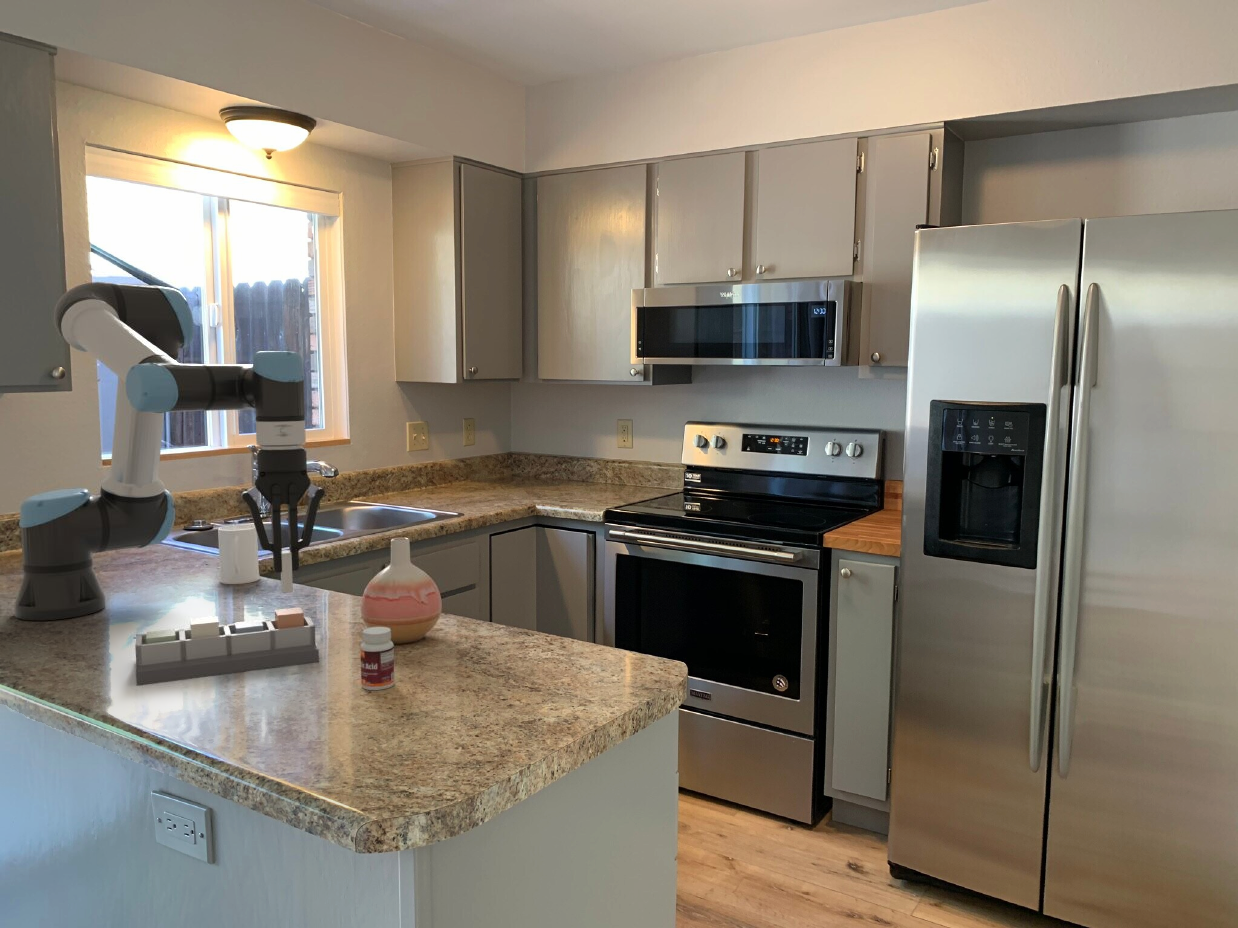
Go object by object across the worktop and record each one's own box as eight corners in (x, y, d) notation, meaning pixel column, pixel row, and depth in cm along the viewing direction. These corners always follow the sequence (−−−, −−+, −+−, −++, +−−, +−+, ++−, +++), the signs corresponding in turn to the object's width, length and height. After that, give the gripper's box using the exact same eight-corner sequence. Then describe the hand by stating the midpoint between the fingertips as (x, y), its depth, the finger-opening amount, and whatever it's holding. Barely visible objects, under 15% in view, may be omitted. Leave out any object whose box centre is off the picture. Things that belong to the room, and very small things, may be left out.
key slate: (236, 646, 149) (236, 628, 149) (235, 640, 152) (234, 622, 152) (263, 643, 151) (263, 625, 150) (261, 637, 154) (260, 619, 154)
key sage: (147, 657, 143) (146, 638, 143) (147, 650, 147) (146, 632, 147) (176, 654, 145) (175, 635, 145) (175, 647, 149) (174, 628, 148)
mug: (253, 586, 204) (251, 532, 202) (212, 588, 202) (209, 533, 201) (263, 575, 215) (261, 523, 214) (223, 577, 213) (221, 525, 212)
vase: (414, 653, 154) (412, 548, 152) (345, 645, 159) (342, 543, 157) (456, 632, 167) (455, 534, 165) (391, 625, 171) (389, 530, 170)
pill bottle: (354, 687, 137) (352, 631, 137) (378, 678, 141) (377, 624, 141) (377, 693, 135) (376, 636, 134) (401, 683, 139) (400, 628, 138)
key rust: (278, 633, 152) (277, 615, 151) (275, 627, 155) (274, 609, 155) (304, 630, 153) (303, 612, 153) (300, 624, 157) (300, 607, 157)
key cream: (191, 643, 146) (190, 624, 146) (190, 637, 150) (190, 618, 149) (219, 640, 148) (218, 621, 147) (218, 634, 151) (217, 615, 151)
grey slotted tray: (136, 685, 138) (134, 652, 138) (138, 659, 151) (136, 629, 150) (319, 661, 150) (318, 630, 149) (306, 639, 162) (305, 611, 162)
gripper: (240, 450, 145) (246, 600, 147) (327, 447, 151) (331, 591, 153) (236, 447, 152) (242, 590, 154) (320, 444, 157) (324, 582, 160)
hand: (287, 590), depth 153 cm, fingers closed
